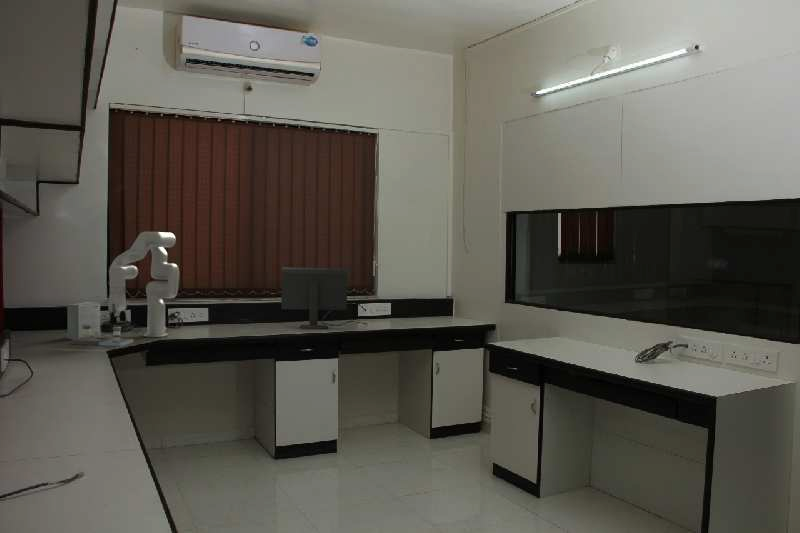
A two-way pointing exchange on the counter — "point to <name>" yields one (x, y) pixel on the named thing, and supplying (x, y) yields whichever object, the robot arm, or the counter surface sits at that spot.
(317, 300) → the computer monitor
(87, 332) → the fuse
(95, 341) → the fuse holder
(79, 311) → the hard drive box
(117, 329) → the fuse
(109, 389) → the counter surface
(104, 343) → the parts tray
